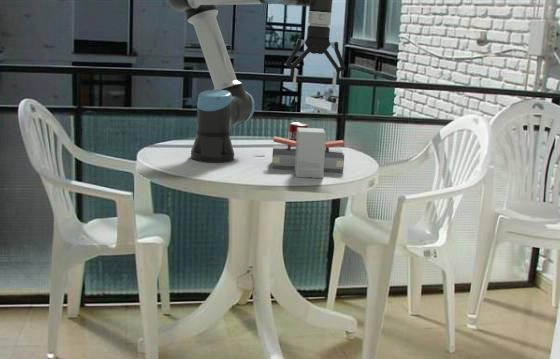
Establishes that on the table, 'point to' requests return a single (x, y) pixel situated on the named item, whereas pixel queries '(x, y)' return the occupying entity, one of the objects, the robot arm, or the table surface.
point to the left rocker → (284, 141)
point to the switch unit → (286, 155)
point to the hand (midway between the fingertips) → (313, 89)
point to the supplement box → (310, 152)
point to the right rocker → (334, 143)
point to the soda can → (295, 130)
